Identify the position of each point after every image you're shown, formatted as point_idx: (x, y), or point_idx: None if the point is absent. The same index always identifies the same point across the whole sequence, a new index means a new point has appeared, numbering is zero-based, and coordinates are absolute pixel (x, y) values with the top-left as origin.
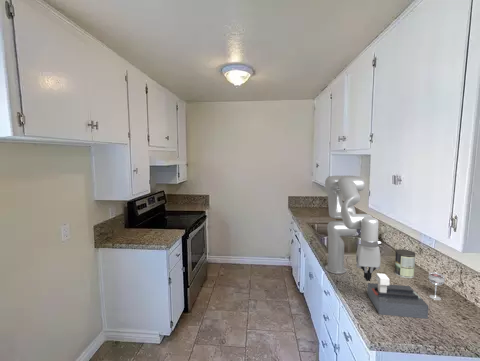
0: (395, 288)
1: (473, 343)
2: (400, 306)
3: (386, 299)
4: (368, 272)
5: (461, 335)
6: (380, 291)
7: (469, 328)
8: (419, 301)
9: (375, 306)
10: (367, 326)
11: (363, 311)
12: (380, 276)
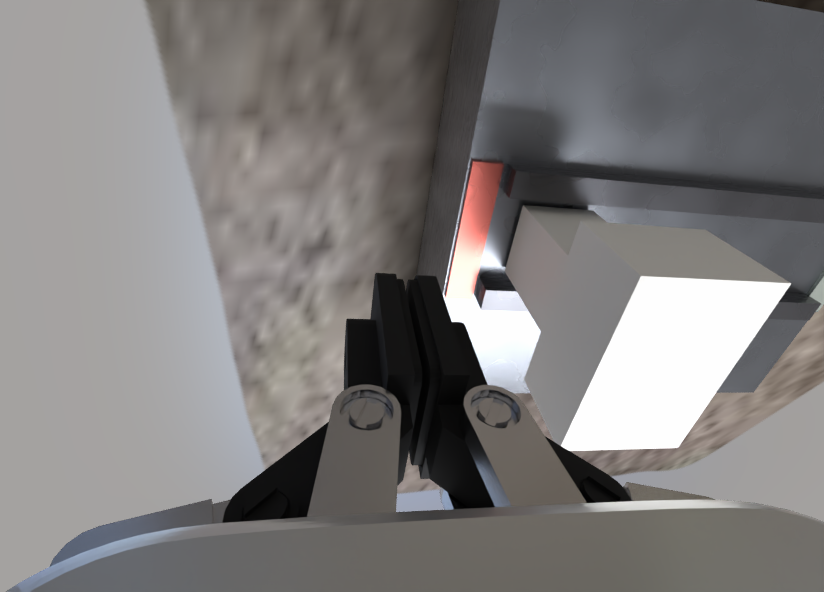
0: (775, 130)
1: (704, 453)
2: None
3: (503, 356)
4: (425, 437)
5: (713, 421)
6: (517, 283)
7: (810, 375)
8: (752, 350)
9: (422, 255)
10: (284, 432)
11: (304, 303)
12: (615, 388)
